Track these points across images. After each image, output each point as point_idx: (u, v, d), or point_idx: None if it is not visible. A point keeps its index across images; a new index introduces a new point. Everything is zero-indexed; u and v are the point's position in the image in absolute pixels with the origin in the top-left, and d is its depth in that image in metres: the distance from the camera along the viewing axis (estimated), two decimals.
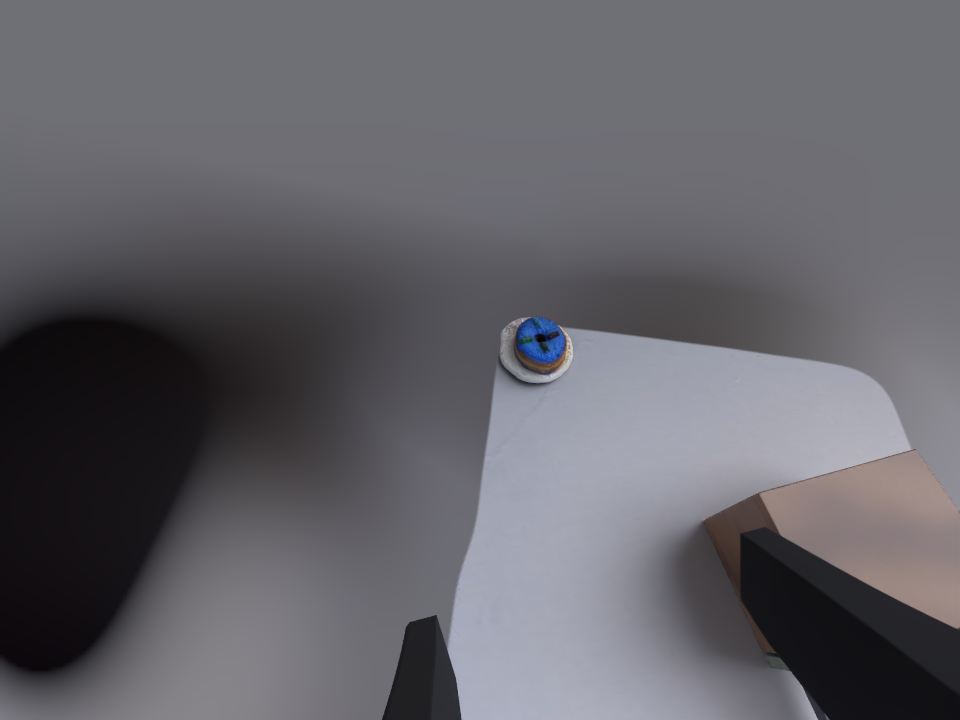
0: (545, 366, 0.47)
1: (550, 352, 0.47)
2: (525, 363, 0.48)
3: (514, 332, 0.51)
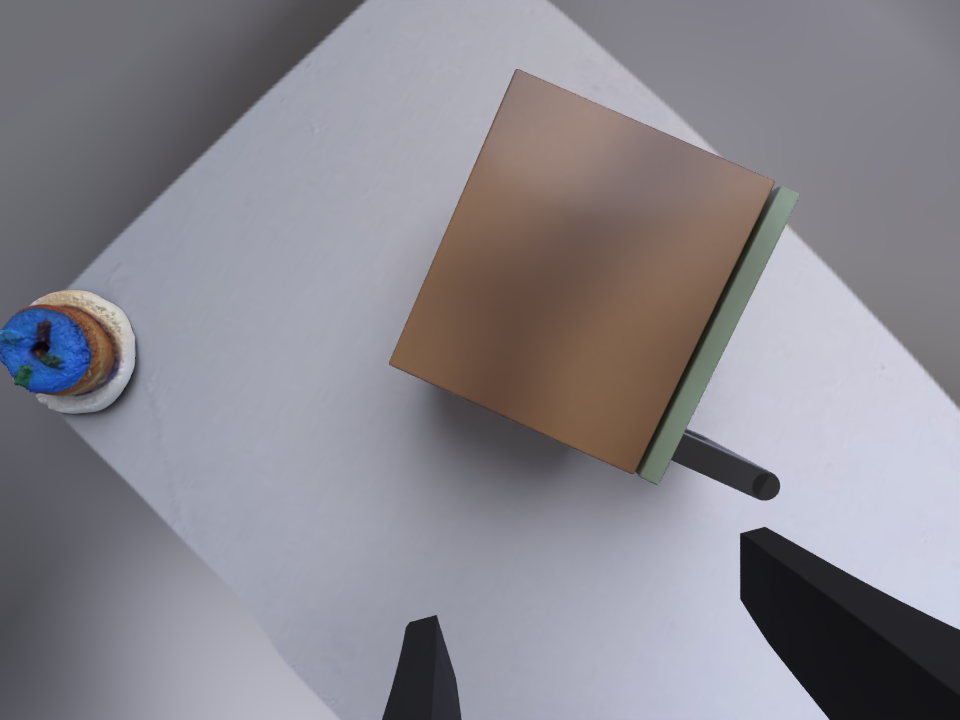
0: (90, 378, 0.28)
1: (66, 360, 0.27)
2: (71, 395, 0.28)
3: None
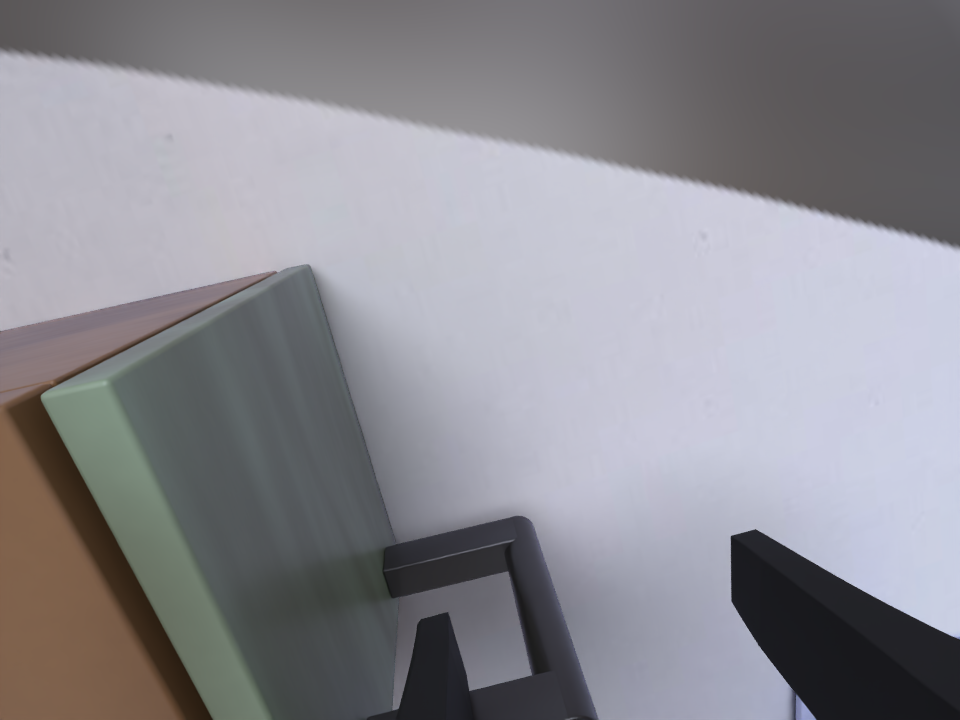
0: None
1: None
2: None
3: None
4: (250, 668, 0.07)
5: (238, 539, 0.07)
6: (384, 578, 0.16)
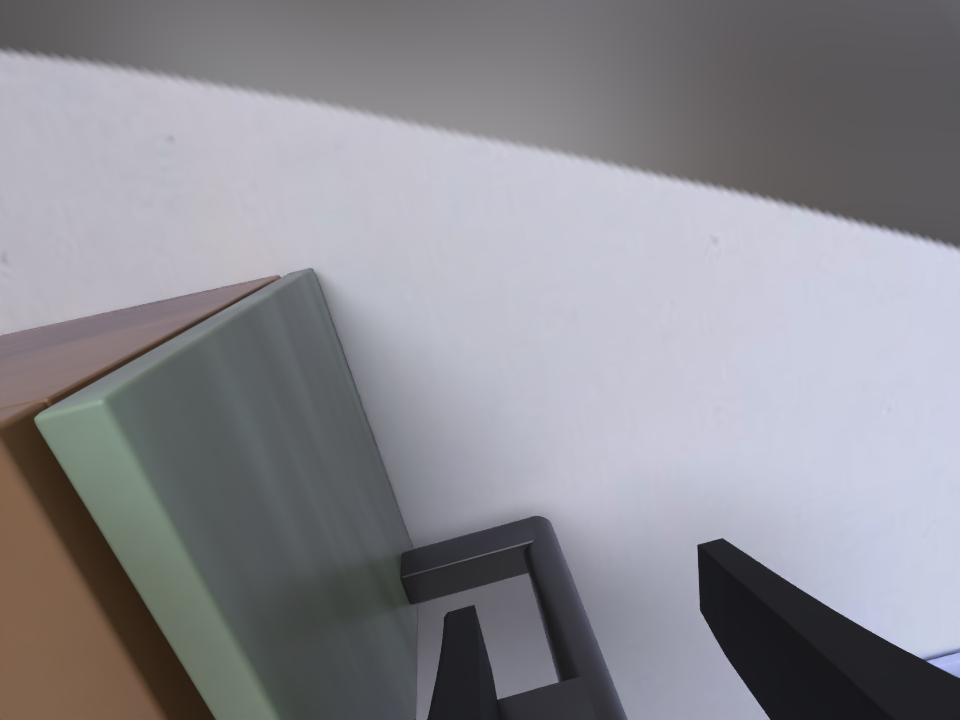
0: None
1: None
2: None
3: None
4: (268, 692, 0.07)
5: (250, 557, 0.07)
6: (402, 584, 0.15)
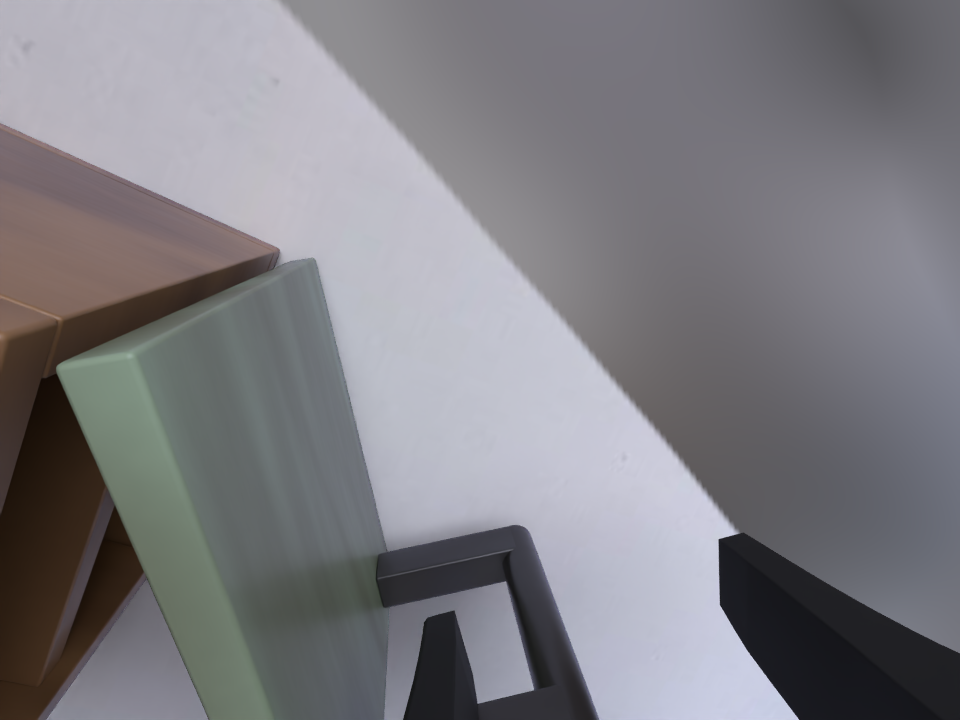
0: None
1: None
2: None
3: None
4: (259, 675, 0.07)
5: (250, 535, 0.07)
6: (377, 586, 0.15)
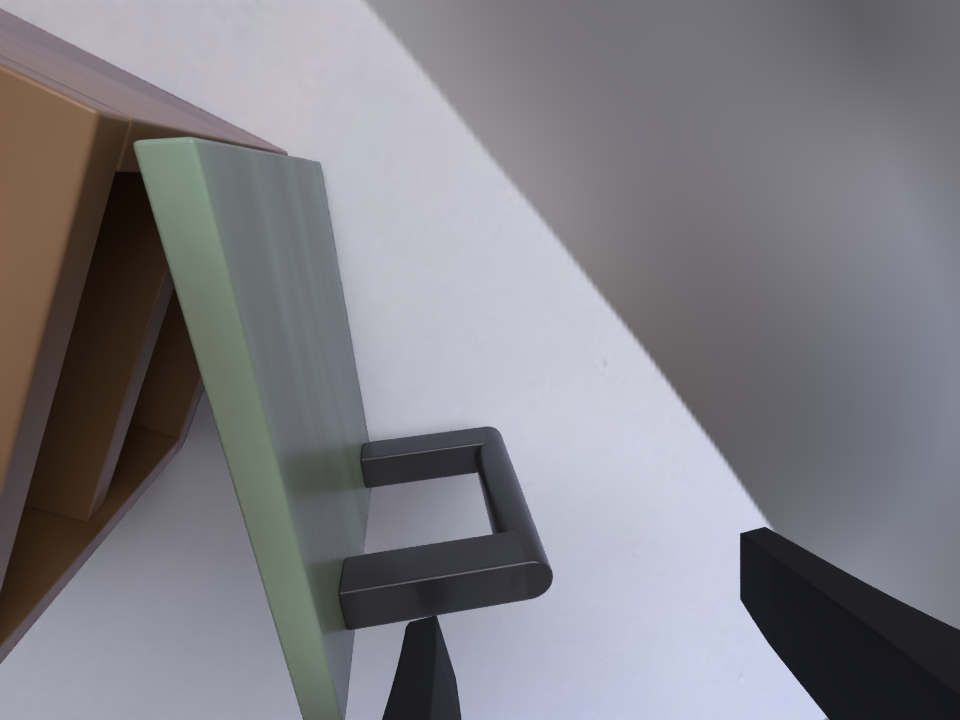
0: None
1: None
2: None
3: None
4: (271, 439, 0.08)
5: (267, 335, 0.08)
6: (360, 467, 0.17)
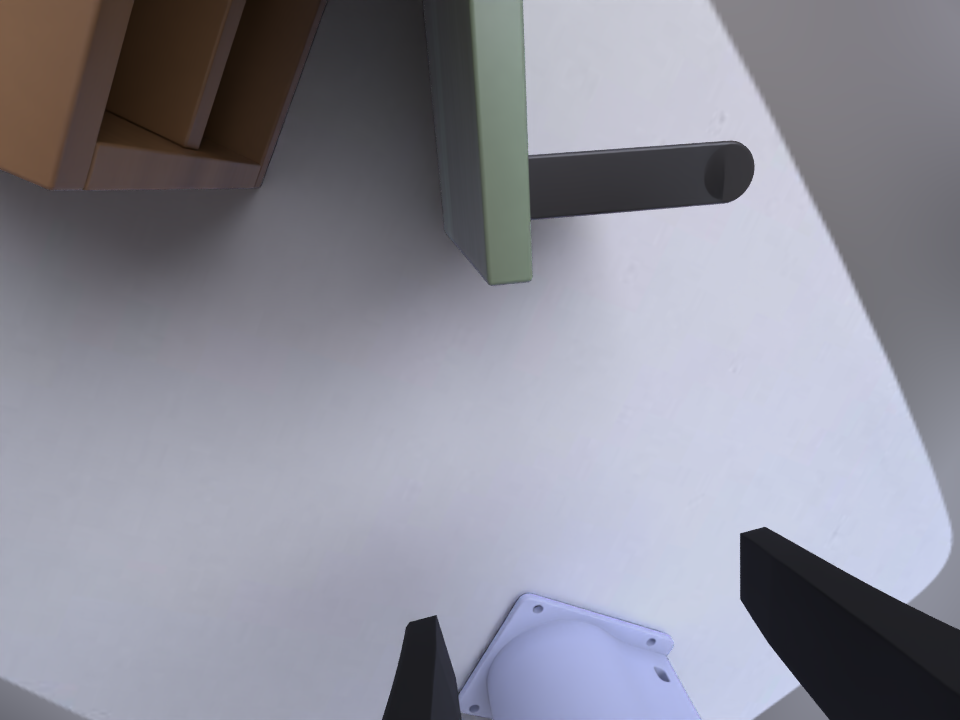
0: None
1: None
2: None
3: None
4: None
5: None
6: None
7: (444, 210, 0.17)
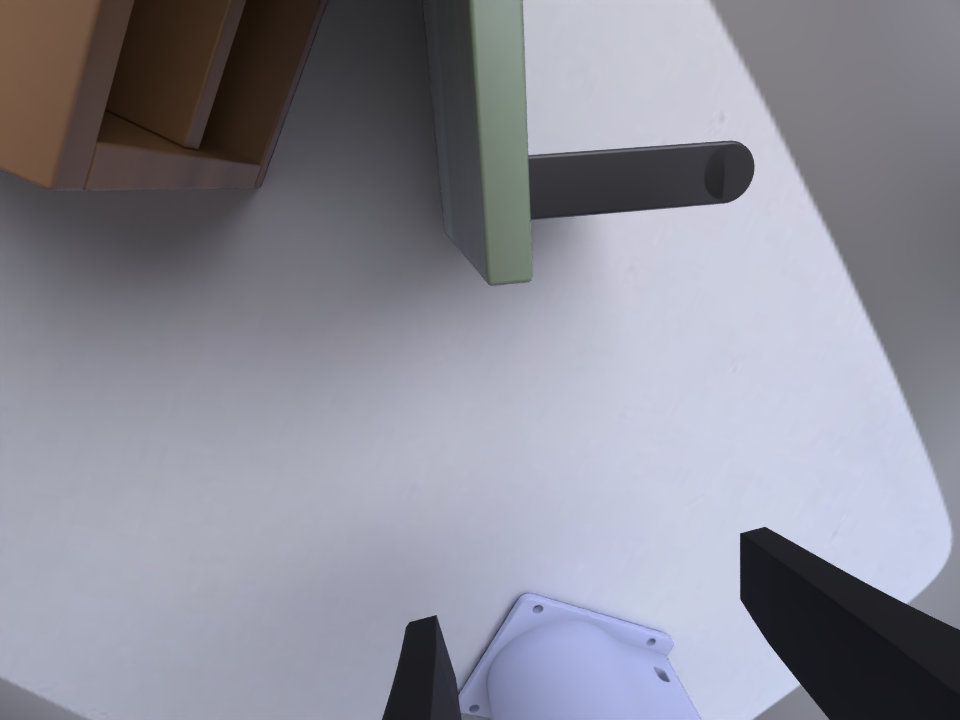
0: None
1: None
2: None
3: None
4: None
5: None
6: None
7: (444, 210, 0.17)
